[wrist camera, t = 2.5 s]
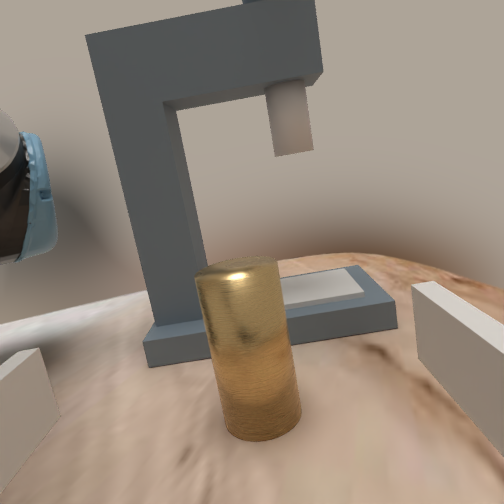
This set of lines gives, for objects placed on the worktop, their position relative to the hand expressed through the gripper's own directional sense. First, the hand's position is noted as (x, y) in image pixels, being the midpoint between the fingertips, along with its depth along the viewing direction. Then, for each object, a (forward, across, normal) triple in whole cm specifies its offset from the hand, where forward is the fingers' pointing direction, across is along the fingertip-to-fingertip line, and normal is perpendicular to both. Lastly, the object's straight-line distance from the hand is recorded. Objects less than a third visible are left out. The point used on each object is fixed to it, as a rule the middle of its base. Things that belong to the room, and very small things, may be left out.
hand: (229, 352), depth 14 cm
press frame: (+25, +1, -9) cm, 27 cm away
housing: (+10, 0, -10) cm, 14 cm away
